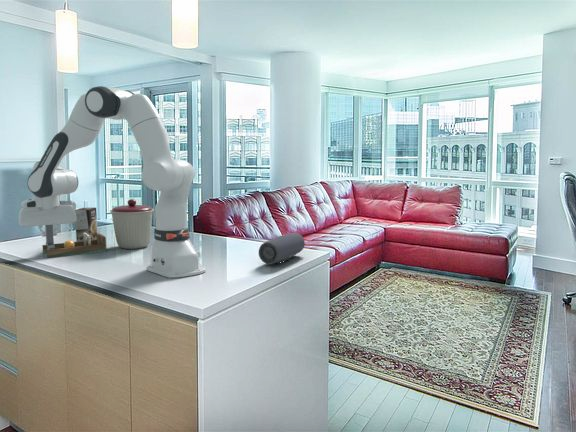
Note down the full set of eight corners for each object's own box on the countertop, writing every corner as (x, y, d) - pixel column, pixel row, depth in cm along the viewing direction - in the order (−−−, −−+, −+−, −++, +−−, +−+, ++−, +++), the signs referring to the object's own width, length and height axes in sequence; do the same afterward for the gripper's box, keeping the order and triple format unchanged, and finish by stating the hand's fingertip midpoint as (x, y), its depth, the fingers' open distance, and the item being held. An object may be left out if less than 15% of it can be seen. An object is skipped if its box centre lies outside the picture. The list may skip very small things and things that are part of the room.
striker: (55, 252, 176) (53, 225, 174) (48, 253, 174) (46, 225, 173) (52, 249, 182) (50, 222, 181) (45, 249, 181) (43, 222, 179)
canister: (129, 253, 182) (127, 202, 179) (102, 247, 192) (100, 199, 189) (163, 245, 197) (162, 198, 194) (137, 241, 207) (135, 196, 204)
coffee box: (91, 245, 195) (89, 209, 193) (76, 245, 195) (74, 209, 193) (98, 241, 204) (96, 207, 202) (84, 241, 204) (82, 207, 202)
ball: (75, 250, 182) (75, 240, 182) (65, 251, 180) (64, 241, 179) (73, 248, 185) (73, 239, 185) (63, 249, 183) (62, 240, 182)
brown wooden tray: (106, 251, 186) (105, 235, 185) (47, 257, 173) (46, 240, 172) (99, 246, 195) (98, 230, 194) (42, 252, 182) (41, 236, 181)
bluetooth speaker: (285, 253, 184) (285, 230, 182) (305, 256, 180) (306, 232, 178) (256, 266, 164) (256, 239, 162) (278, 269, 160) (279, 242, 158)
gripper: (74, 199, 184) (75, 232, 186) (16, 202, 172) (19, 237, 174) (77, 200, 179) (79, 234, 181) (18, 203, 167) (21, 239, 169)
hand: (49, 235), depth 177 cm, fingers closed on striker, 2 cm apart
